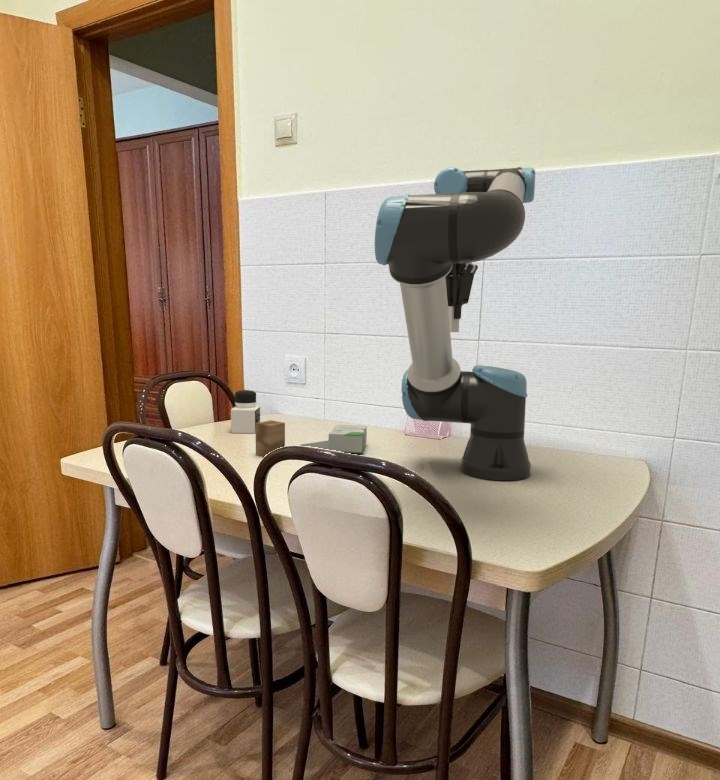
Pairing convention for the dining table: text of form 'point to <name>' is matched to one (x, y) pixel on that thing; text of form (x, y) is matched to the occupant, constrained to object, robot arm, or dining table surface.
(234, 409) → the medicine bottle
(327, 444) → the mat
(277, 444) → the walnut block
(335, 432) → the ink box
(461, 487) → the dining table surface
